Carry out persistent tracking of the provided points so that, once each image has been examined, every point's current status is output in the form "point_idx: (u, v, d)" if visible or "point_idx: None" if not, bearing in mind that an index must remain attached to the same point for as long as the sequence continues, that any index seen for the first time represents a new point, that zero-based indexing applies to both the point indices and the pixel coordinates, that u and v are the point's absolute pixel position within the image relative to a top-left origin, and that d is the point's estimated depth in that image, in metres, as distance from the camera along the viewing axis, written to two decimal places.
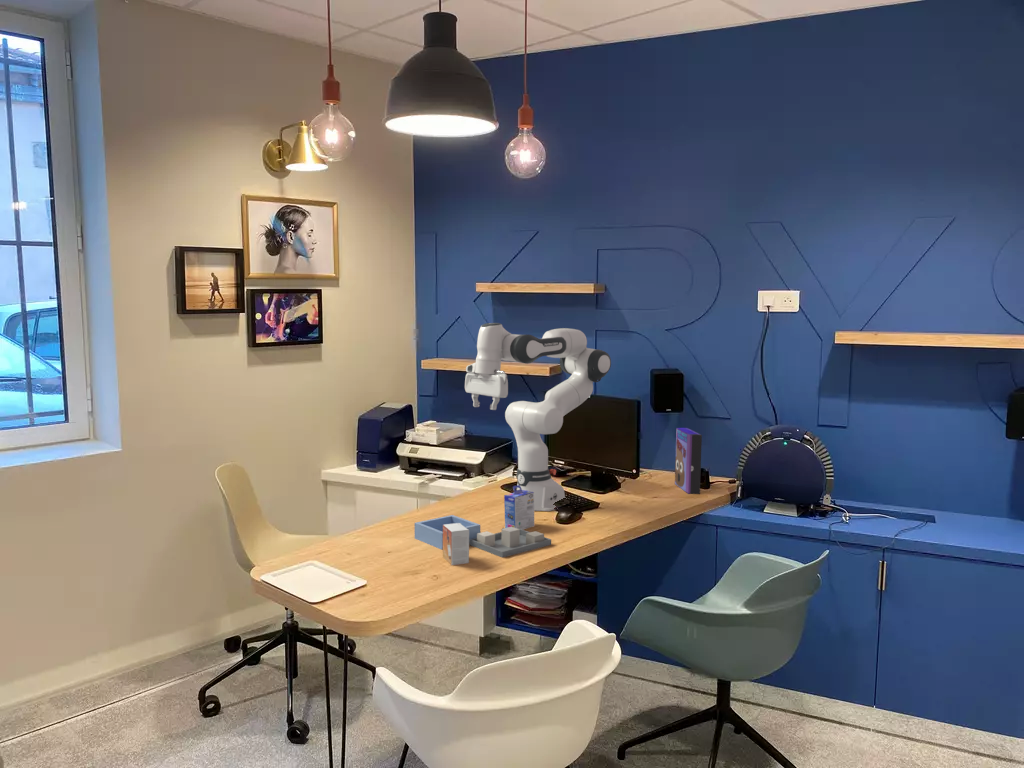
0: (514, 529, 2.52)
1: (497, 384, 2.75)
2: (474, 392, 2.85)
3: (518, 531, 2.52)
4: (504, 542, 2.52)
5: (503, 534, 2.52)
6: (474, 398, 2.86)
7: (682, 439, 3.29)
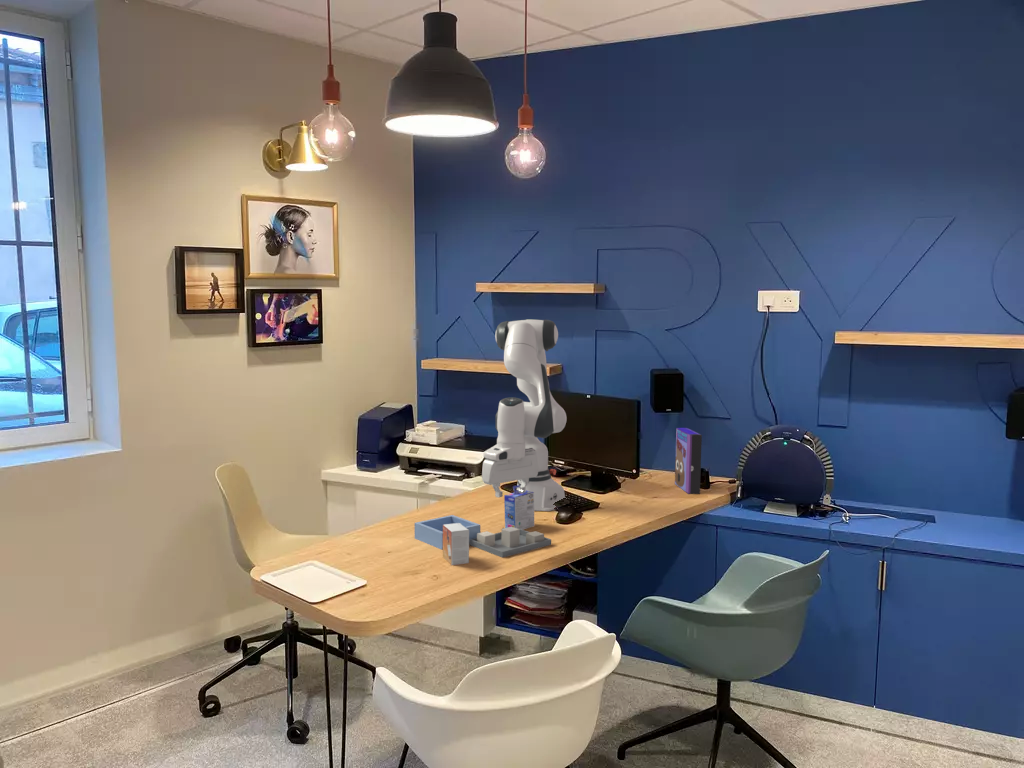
0: (514, 529, 2.52)
1: (534, 463, 2.54)
2: (504, 481, 2.47)
3: (518, 531, 2.52)
4: (504, 542, 2.52)
5: (503, 534, 2.52)
6: None
7: (682, 439, 3.29)
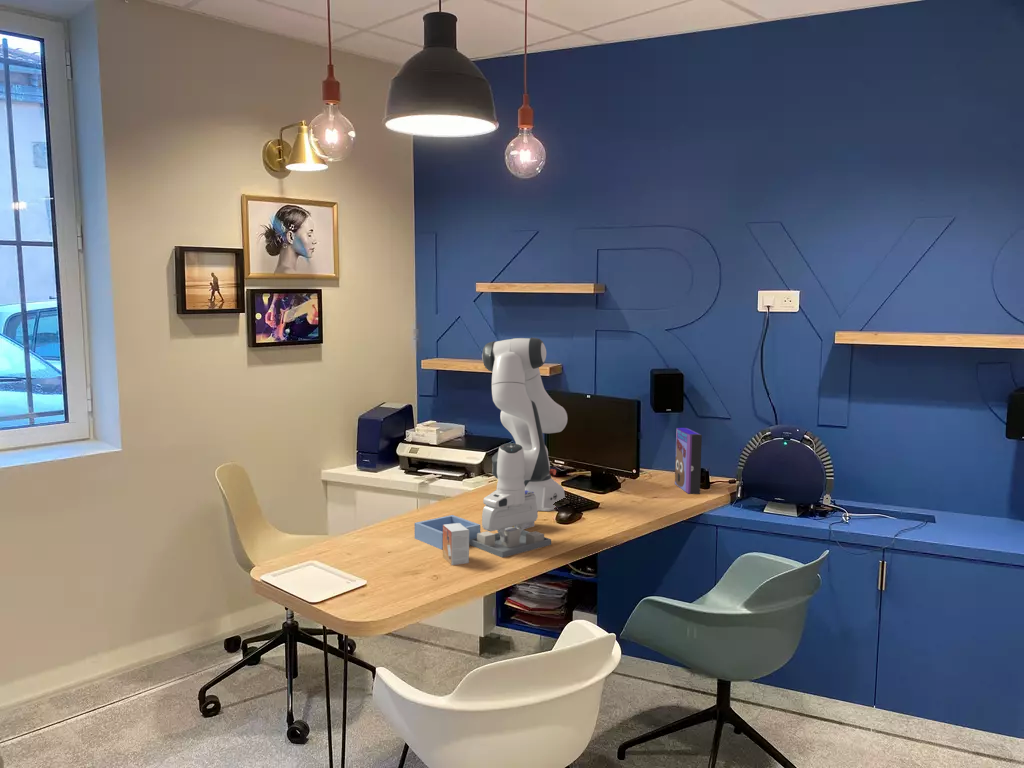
0: (514, 529, 2.52)
1: (533, 508, 2.56)
2: (503, 527, 2.48)
3: (518, 531, 2.52)
4: (504, 542, 2.52)
5: None
6: None
7: (682, 439, 3.29)
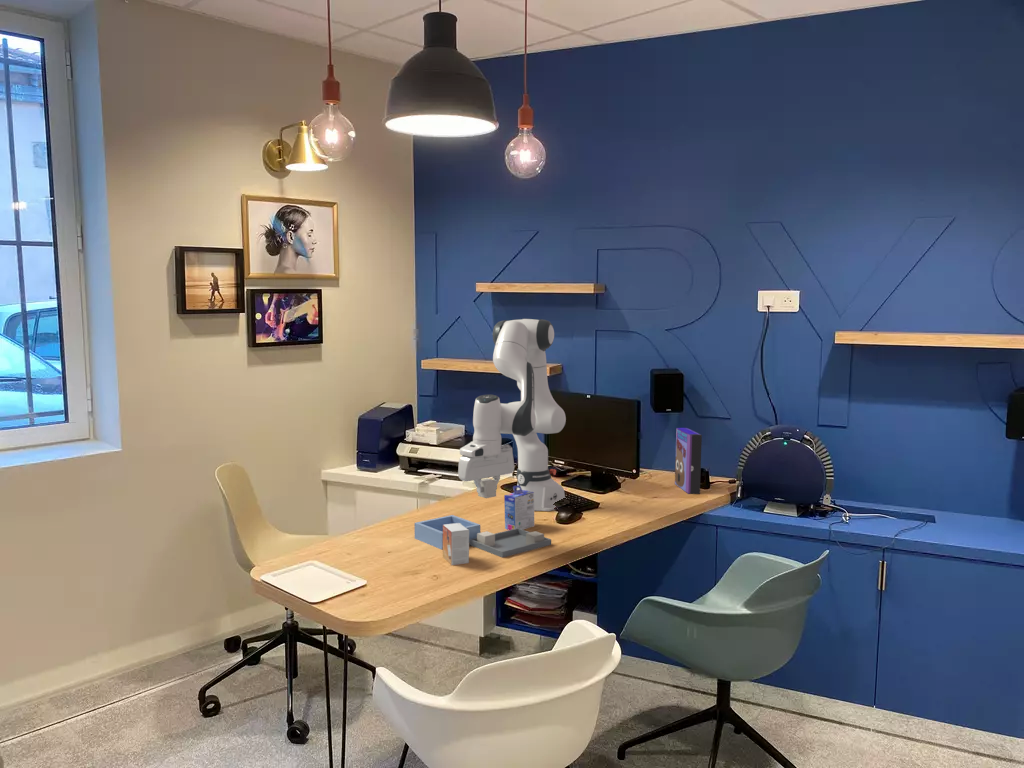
0: (491, 480, 2.52)
1: (510, 460, 2.56)
2: (480, 477, 2.48)
3: (495, 482, 2.52)
4: (481, 493, 2.52)
5: None
6: None
7: (682, 439, 3.29)
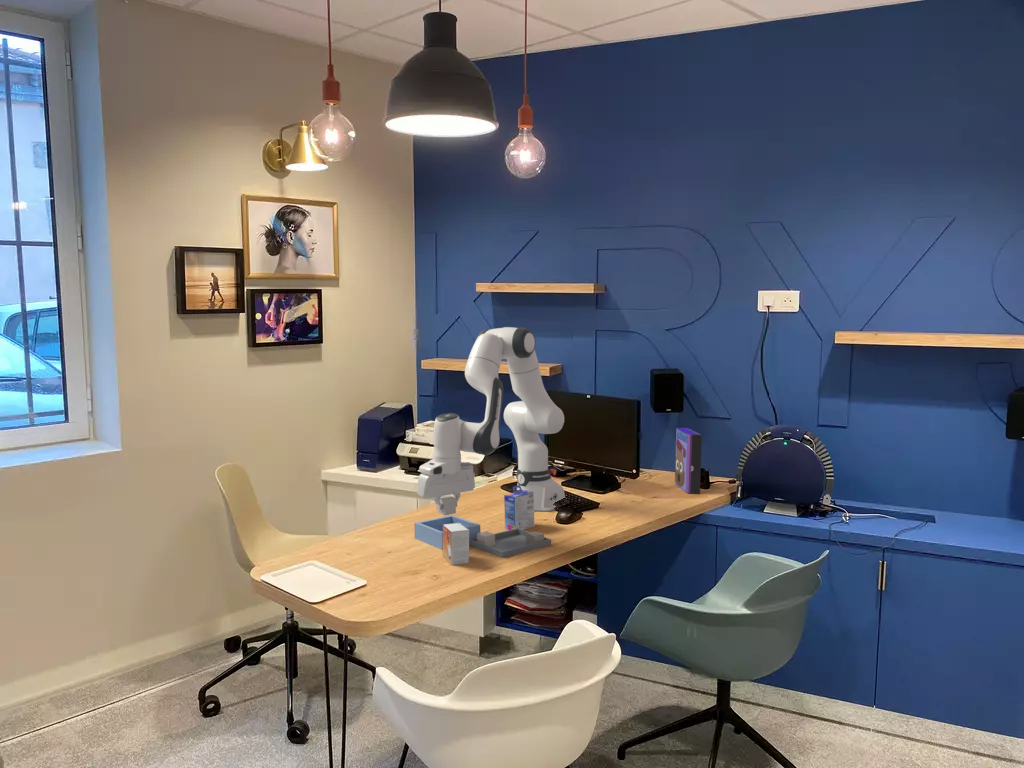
0: (450, 497, 2.56)
1: (470, 477, 2.60)
2: (439, 495, 2.52)
3: (454, 499, 2.56)
4: (441, 510, 2.56)
5: None
6: None
7: (682, 439, 3.29)
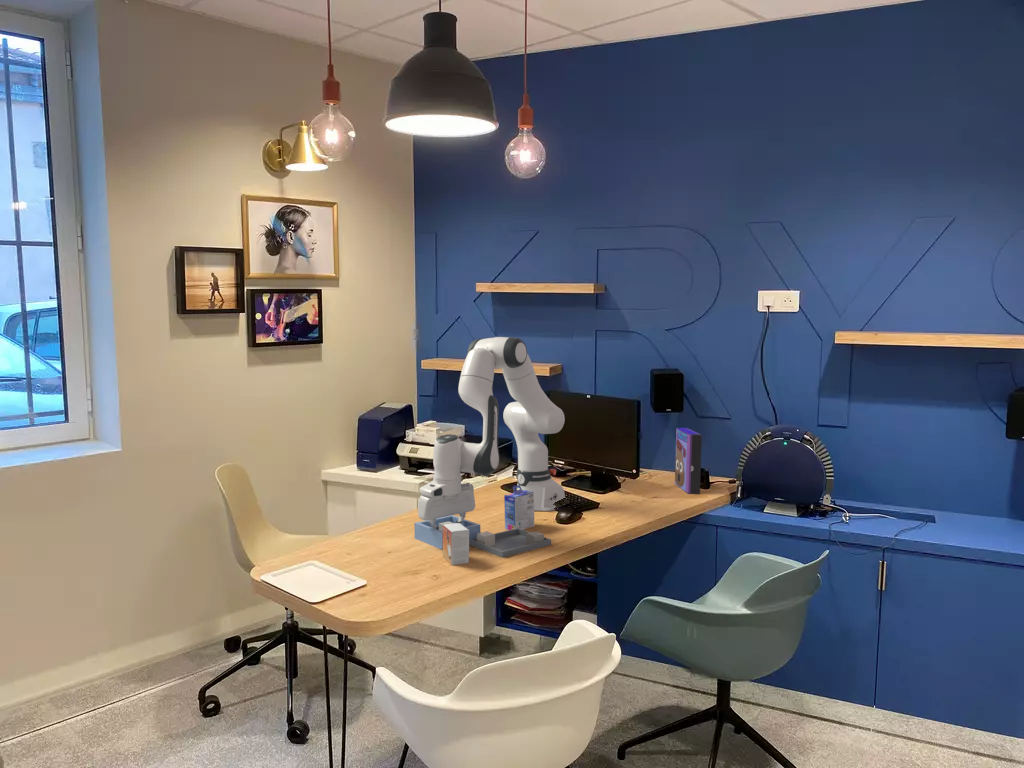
0: None
1: (471, 498, 2.61)
2: (439, 516, 2.53)
3: None
4: None
5: (440, 528, 2.57)
6: None
7: (682, 439, 3.29)
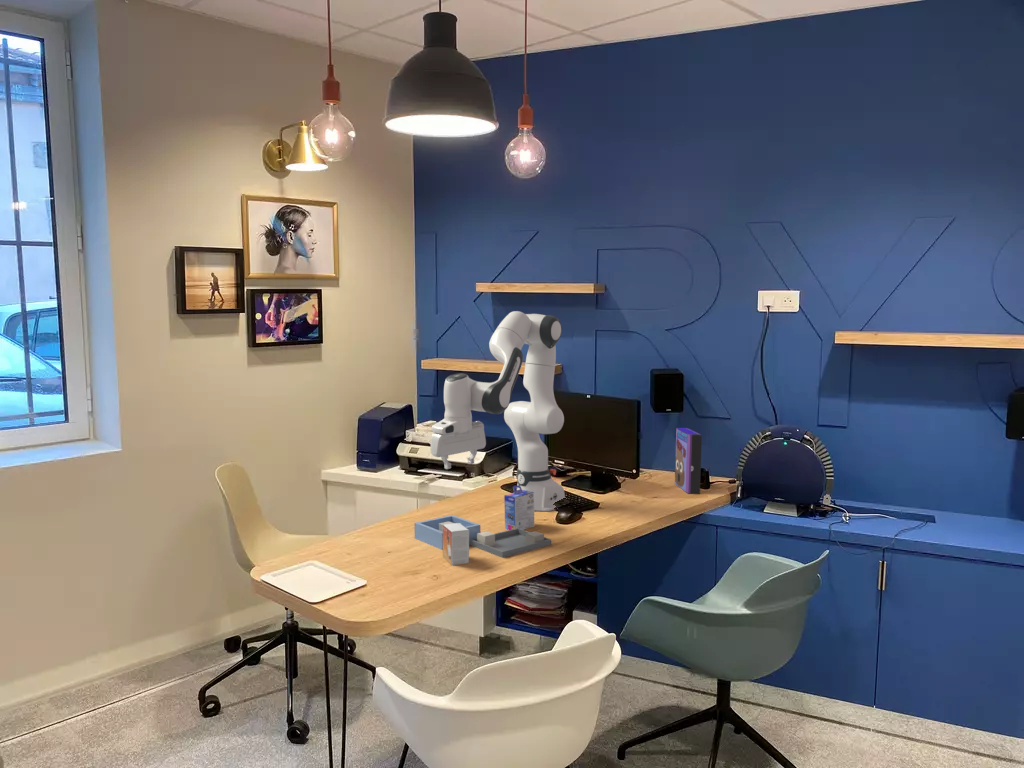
0: None
1: (481, 435, 2.66)
2: (451, 453, 2.59)
3: None
4: None
5: (440, 528, 2.57)
6: None
7: (682, 439, 3.29)
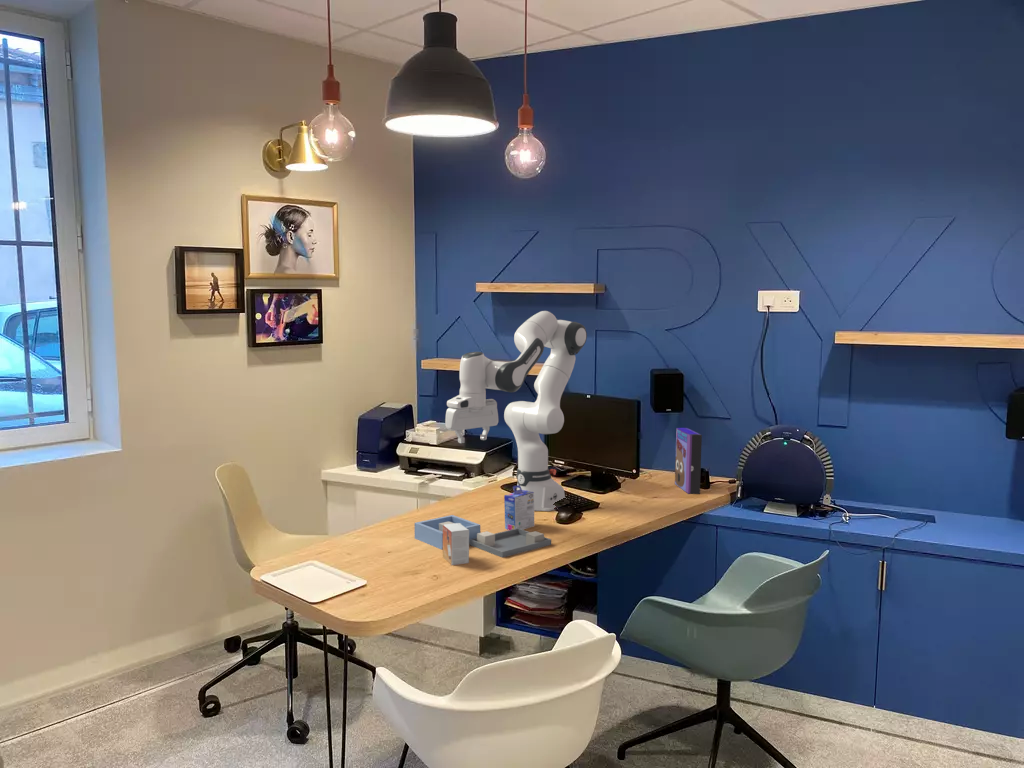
0: None
1: (494, 413, 2.76)
2: (465, 428, 2.68)
3: None
4: None
5: (440, 528, 2.57)
6: None
7: (682, 439, 3.29)
